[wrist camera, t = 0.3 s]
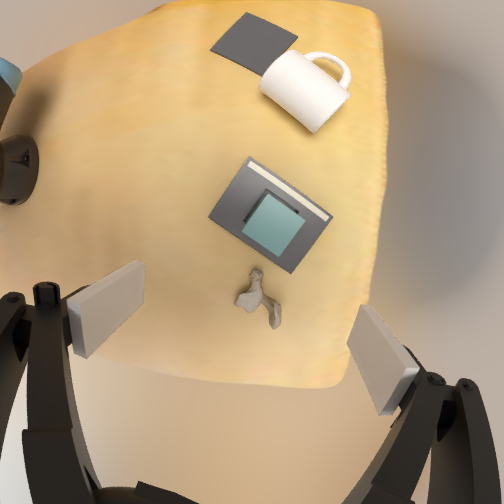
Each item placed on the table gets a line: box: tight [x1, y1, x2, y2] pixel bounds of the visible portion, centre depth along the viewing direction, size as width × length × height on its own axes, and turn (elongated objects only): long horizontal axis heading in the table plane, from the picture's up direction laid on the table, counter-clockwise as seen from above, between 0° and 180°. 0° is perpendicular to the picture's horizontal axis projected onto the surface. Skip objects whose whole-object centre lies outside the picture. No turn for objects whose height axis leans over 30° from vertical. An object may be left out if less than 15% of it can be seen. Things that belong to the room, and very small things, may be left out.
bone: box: [234, 269, 281, 330], centre depth 38 cm, size 9×6×10 cm
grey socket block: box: [208, 157, 333, 274], centre depth 38 cm, size 14×10×3 cm
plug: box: [242, 193, 305, 257], centre depth 33 cm, size 5×5×12 cm
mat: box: [210, 12, 298, 76], centre depth 33 cm, size 10×10×1 cm
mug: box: [259, 50, 351, 133], centre depth 31 cm, size 12×10×8 cm
